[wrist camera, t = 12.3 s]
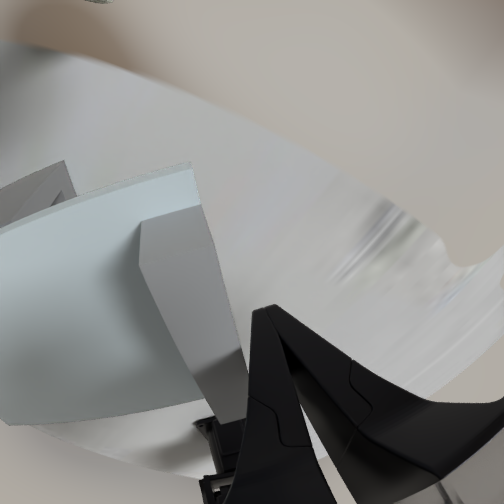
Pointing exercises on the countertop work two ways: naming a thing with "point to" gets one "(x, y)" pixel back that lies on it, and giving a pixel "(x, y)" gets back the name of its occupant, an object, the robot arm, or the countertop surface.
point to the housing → (35, 193)
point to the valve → (101, 1)
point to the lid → (117, 307)
